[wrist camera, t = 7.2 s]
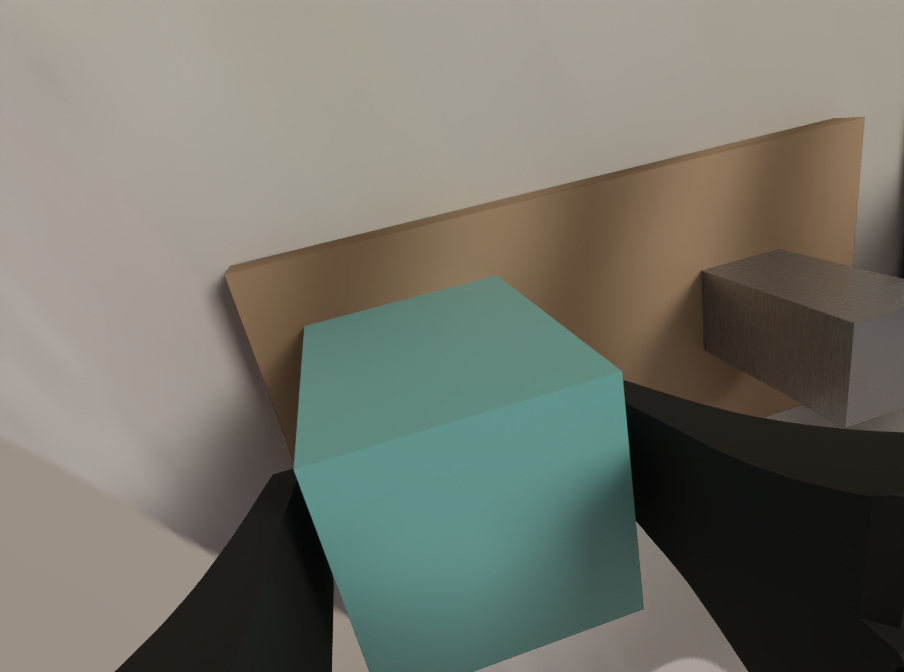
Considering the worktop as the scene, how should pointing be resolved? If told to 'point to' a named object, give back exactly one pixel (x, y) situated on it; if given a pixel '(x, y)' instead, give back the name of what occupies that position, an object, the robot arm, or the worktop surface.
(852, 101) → the worktop surface
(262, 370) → the walnut board
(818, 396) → the post
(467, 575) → the aqua toy cube
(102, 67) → the worktop surface
